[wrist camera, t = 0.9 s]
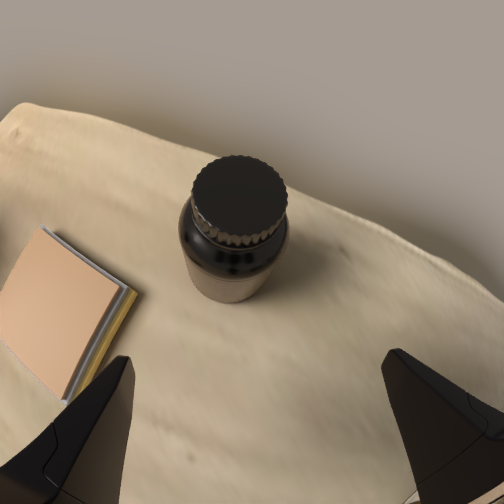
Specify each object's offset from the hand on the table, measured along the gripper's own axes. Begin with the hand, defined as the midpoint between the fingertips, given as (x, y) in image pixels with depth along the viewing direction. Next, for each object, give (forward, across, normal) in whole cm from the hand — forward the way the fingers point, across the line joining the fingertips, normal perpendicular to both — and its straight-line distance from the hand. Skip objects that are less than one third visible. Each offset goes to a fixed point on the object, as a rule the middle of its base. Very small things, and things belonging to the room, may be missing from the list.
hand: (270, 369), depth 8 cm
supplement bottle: (+16, +1, +5) cm, 16 cm away
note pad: (+12, +17, +8) cm, 22 cm away
